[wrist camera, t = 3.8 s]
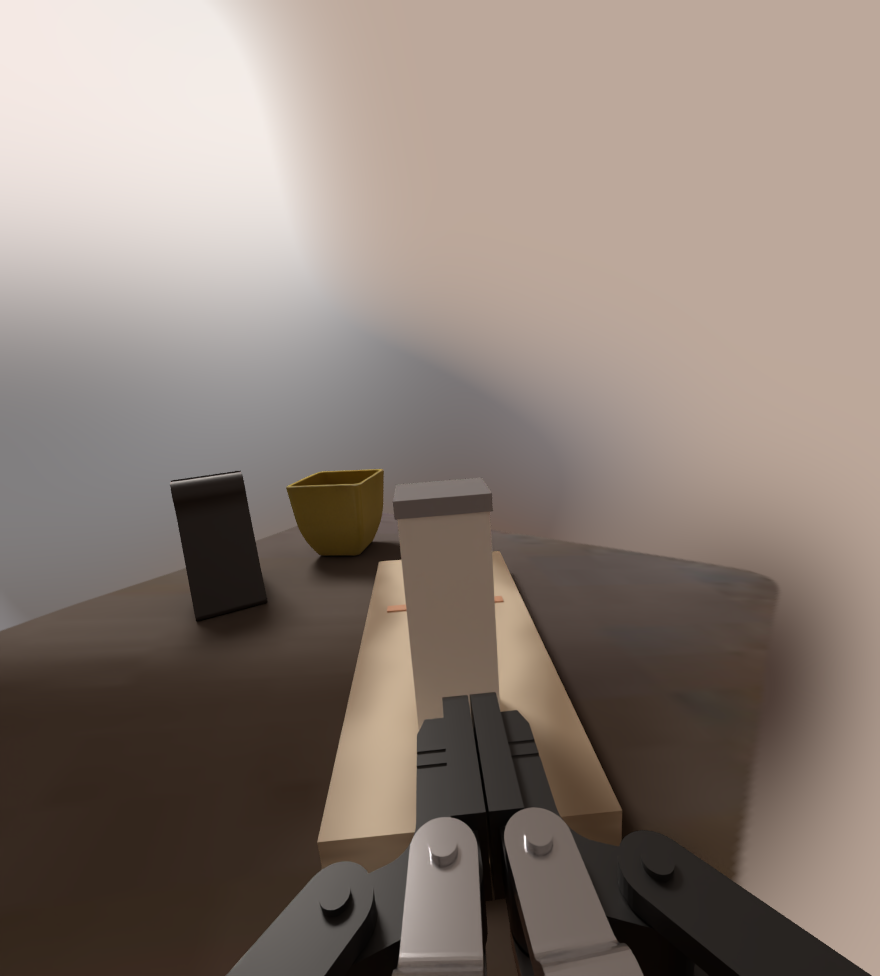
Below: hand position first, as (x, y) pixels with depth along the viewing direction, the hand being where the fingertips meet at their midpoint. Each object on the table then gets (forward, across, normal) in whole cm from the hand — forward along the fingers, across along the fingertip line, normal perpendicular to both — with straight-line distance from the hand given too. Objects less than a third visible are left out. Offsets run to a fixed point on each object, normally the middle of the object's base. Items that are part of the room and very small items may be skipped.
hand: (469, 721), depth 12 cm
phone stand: (+32, +21, +10) cm, 39 cm away
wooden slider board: (+18, 0, +10) cm, 20 cm away
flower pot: (+42, +11, +10) cm, 44 cm away
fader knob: (+10, 0, +7) cm, 12 cm away
